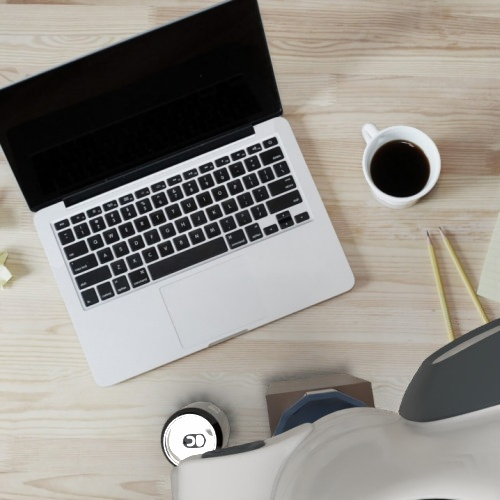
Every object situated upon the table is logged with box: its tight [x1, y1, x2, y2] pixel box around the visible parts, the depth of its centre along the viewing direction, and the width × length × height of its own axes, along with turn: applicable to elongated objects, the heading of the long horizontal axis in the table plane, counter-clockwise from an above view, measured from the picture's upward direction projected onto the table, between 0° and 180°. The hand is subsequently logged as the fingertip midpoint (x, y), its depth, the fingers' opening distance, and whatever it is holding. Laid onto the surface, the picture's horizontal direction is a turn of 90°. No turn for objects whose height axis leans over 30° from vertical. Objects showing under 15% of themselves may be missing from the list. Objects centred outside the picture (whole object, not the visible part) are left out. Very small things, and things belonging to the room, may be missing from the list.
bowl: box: [272, 388, 368, 437], centre depth 57 cm, size 9×9×5 cm
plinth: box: [265, 372, 376, 438], centre depth 73 cm, size 9×9×27 cm
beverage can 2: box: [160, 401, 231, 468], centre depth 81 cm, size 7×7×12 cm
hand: (344, 462), depth 46 cm, fingers closed on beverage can, 5 cm apart
